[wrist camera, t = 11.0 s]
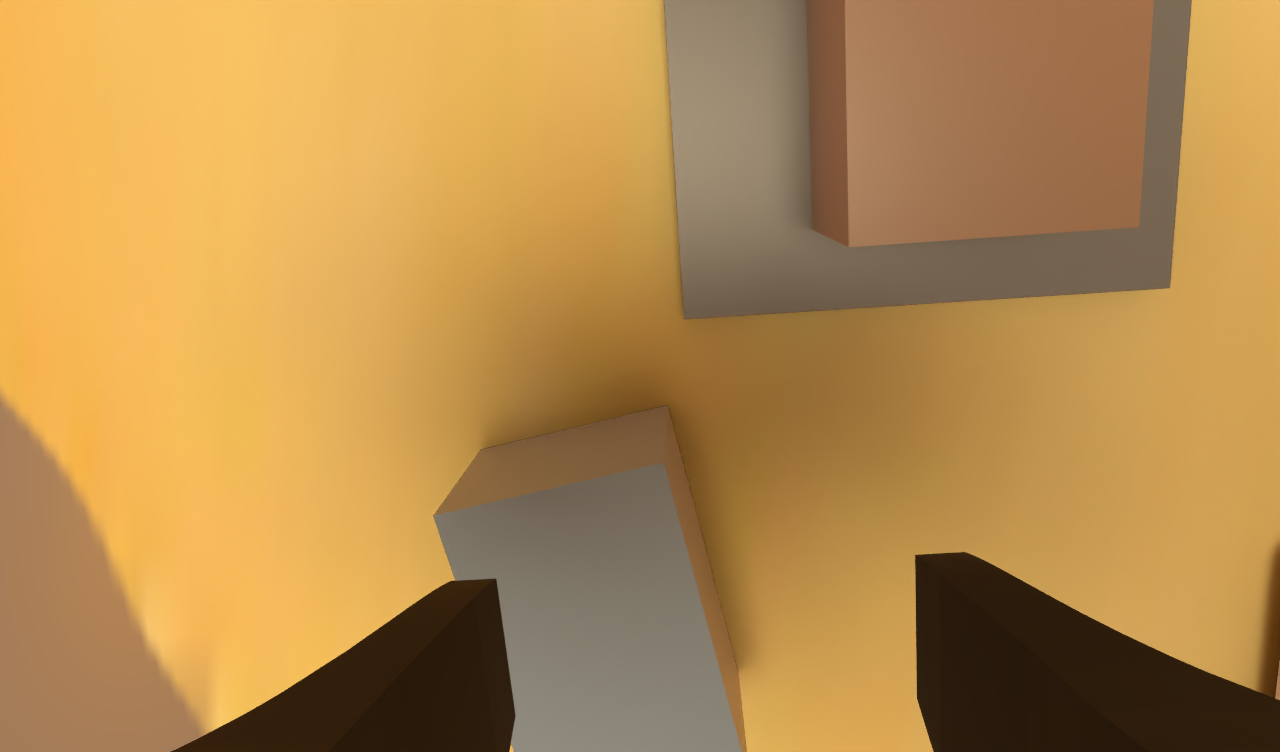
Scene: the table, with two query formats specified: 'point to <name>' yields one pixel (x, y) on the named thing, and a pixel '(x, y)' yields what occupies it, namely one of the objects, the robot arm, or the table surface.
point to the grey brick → (600, 589)
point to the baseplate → (781, 185)
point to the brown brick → (975, 117)
